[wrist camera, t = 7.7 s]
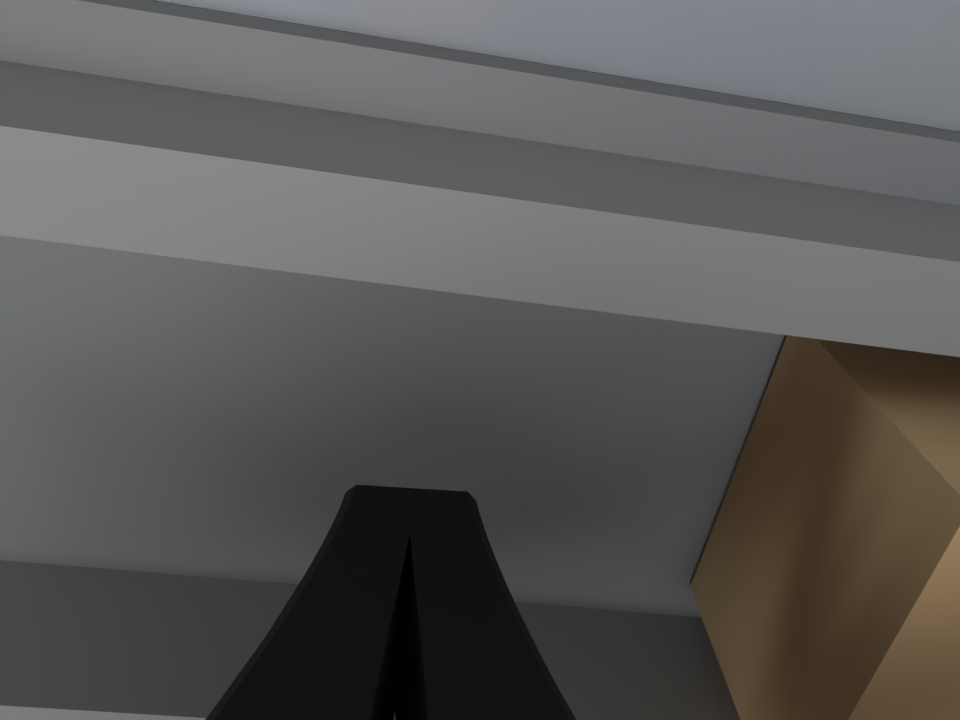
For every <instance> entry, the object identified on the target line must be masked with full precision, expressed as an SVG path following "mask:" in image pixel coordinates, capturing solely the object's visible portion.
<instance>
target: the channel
mask: <svg viewBox="0 0 960 720" xmlns="http://www.w3.org/2000/svg"><path fill="white" fill-rule="evenodd" d="M787 335H790V336H798V337H805V338H813V339H821V340H829V341H837V342H845V343H853V344H861V345H868V346H876V347H884V348H892V349H900V350H908V351H916V352H923V353H931V354H939V355H947V356H955V357H960V132H956V131H950V130H944V129H938V128H932V127H926V126H920V125H914V124H907V123H901V122H895V121H889V120H883V119H877V118H871V117H865V116H858V115H852V114H846V113H840V112H834V111H828V110H822V109H816V108H809V107H803V106H797V105H791V104H785V103H779V102H773V101H767V100H760V99H754V98H748V97H742V96H736V95H730V94H724V93H718V92H711V91H705V90H699V89H693V88H687V87H681V86H675V85H668V84H662V83H656V82H650V81H644V80H638V79H632V78H626V77H619V76H613V75H607V74H601V73H595V72H589V71H583V70H577V69H570V68H564V67H558V66H552V65H546V64H540V63H534V62H528V61H521V60H515V59H509V58H503V57H497V56H491V55H485V54H479V53H472V52H466V51H460V50H454V49H448V48H442V47H436V46H430V45H423V44H417V43H411V42H405V41H399V40H393V39H387V38H381V37H374V36H368V35H362V34H356V33H350V32H344V31H338V30H332V29H325V28H319V27H313V26H307V25H301V24H295V23H289V22H282V21H276V20H270V19H264V18H258V17H252V16H246V15H240V14H233V13H227V12H221V11H215V10H209V9H203V8H197V7H191V6H184V5H178V4H172V3H166V2H160V1H154V0H0V720H205V719H206V718H207V717H208V715H209V714H210V713H211V711H212V710H213V709H214V707H215V706H216V704H217V703H218V702H219V700H220V699H221V698H222V696H223V695H224V693H225V692H226V691H227V689H228V688H229V686H230V685H231V684H232V682H233V681H234V680H235V678H236V677H237V675H238V674H239V673H240V671H241V670H242V669H243V667H244V666H245V664H246V663H247V662H248V660H249V659H250V657H251V656H252V655H253V653H254V652H255V651H256V649H257V648H258V646H259V645H260V644H261V642H262V641H263V639H264V638H265V636H266V635H267V633H268V632H269V630H270V629H271V627H272V626H273V624H274V622H275V621H276V619H277V618H278V616H279V615H280V613H281V611H282V610H283V608H284V607H285V605H286V604H287V602H288V600H289V599H290V597H291V596H292V594H293V592H294V591H295V589H296V588H297V586H298V585H299V583H300V581H301V580H302V578H303V577H304V575H305V573H306V572H307V570H308V568H309V566H310V565H311V563H312V561H313V559H314V557H315V556H316V554H317V552H318V550H319V549H320V547H321V545H322V543H323V541H324V539H325V537H326V536H327V534H328V532H329V530H330V528H331V526H332V524H333V521H334V519H335V517H336V515H337V513H338V511H339V508H340V506H341V503H342V501H343V498H344V495H345V492H347V491H348V490H350V489H351V488H352V487H354V486H355V485H371V486H387V487H403V488H419V489H435V490H451V491H467V492H469V493H470V494H471V495H472V497H473V498H474V499H475V500H476V501H477V505H478V509H479V513H480V516H481V519H482V522H483V525H484V528H485V531H486V534H487V537H488V540H489V542H490V545H491V548H492V550H493V553H494V555H495V558H496V560H497V563H498V565H499V567H500V570H501V572H502V575H503V577H504V579H505V582H506V584H507V586H508V589H509V591H510V593H511V595H512V597H513V599H514V602H515V604H516V606H517V608H518V610H519V612H520V614H521V616H522V618H523V620H524V622H525V624H526V626H527V628H528V630H529V632H530V634H531V636H532V638H533V640H534V642H535V644H536V646H537V648H538V650H539V652H540V654H541V657H542V658H543V660H544V662H545V664H546V666H547V668H548V670H549V672H550V673H551V675H552V677H553V679H554V681H555V683H556V685H557V686H558V688H559V690H560V692H561V694H562V695H563V697H564V699H565V700H566V702H567V704H568V706H569V707H570V709H571V711H572V713H573V714H574V716H575V718H576V720H740V717H739V715H738V712H737V709H736V707H735V704H734V702H733V699H732V696H731V694H730V691H729V688H728V686H727V683H726V681H725V678H724V675H723V673H722V670H721V667H720V665H719V662H718V660H717V657H716V654H715V652H714V649H713V646H712V644H711V641H710V639H709V636H708V633H707V631H706V628H705V625H704V623H703V620H702V618H701V615H700V612H699V610H698V607H697V604H696V602H695V599H694V597H693V594H692V591H691V589H690V587H691V584H692V581H693V579H694V576H695V574H696V571H697V568H698V566H699V563H700V561H701V558H702V555H703V553H704V550H705V548H706V545H707V542H708V540H709V537H710V535H711V532H712V529H713V527H714V524H715V522H716V519H717V517H718V514H719V511H720V509H721V506H722V504H723V501H724V498H725V496H726V493H727V491H728V488H729V485H730V483H731V480H732V478H733V475H734V472H735V470H736V467H737V465H738V462H739V459H740V457H741V454H742V452H743V449H744V447H745V444H746V441H747V439H748V436H749V434H750V431H751V428H752V426H753V423H754V421H755V418H756V415H757V413H758V410H759V408H760V405H761V402H762V400H763V397H764V395H765V392H766V389H767V387H768V384H769V382H770V379H771V376H772V374H773V371H774V369H775V366H776V364H777V361H778V358H779V356H780V353H781V351H782V348H783V345H784V343H785V340H786V338H787ZM394 720H395V714H394Z"/></svg>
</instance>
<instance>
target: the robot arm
mask: <svg viewBox="0 0 960 720" xmlns="http://www.w3.org/2000/svg"><path fill="white" fill-rule="evenodd" d="M394 714H395V720H576V718H575V716H574V714H573V713H572V711H571V709H570V707H569V706H568V704H567V702H566V700H565V699H564V697H563V695H562V694H561V692H560V690H559V688H558V686H557V685H556V683H555V681H554V679H553V677H552V675H551V673H550V672H549V670H548V668H547V666H546V664H545V662H544V660H543V658H542V657H541V654H540V652H539V650H538V648H537V646H536V644H535V642H534V640H533V638H532V636H531V634H530V632H529V630H528V628H527V626H526V624H525V622H524V620H523V618H522V616H521V614H520V612H519V610H518V608H517V606H516V604H515V602H514V599H513V597H512V595H511V593H510V591H509V589H508V586H507V584H506V582H505V579H504V577H503V575H502V572H501V570H500V567H499V565H498V563H497V560H496V558H495V555H494V553H493V550H492V548H491V545H490V542H489V540H488V537H487V534H486V531H485V528H484V525H483V522H482V519H481V516H480V513H479V509H478V505H477V501H476V500H475V499H474V498H473V497H472V495H471V494H470V493H469V492H467V491H451V490H435V489H419V488H403V487H387V486H371V485H355V486H354V487H352V488H351V489H350V490H348V491H347V492H345V495H344V498H343V501H342V503H341V506H340V508H339V511H338V513H337V515H336V517H335V519H334V521H333V524H332V526H331V528H330V530H329V532H328V534H327V536H326V537H325V539H324V541H323V543H322V545H321V547H320V549H319V550H318V552H317V554H316V556H315V557H314V559H313V561H312V563H311V565H310V566H309V568H308V570H307V572H306V573H305V575H304V577H303V578H302V580H301V581H300V583H299V585H298V586H297V588H296V589H295V591H294V592H293V594H292V596H291V597H290V599H289V600H288V602H287V604H286V605H285V607H284V608H283V610H282V611H281V613H280V615H279V616H278V618H277V619H276V621H275V622H274V624H273V626H272V627H271V629H270V630H269V632H268V633H267V635H266V636H265V638H264V639H263V641H262V642H261V644H260V645H259V646H258V648H257V649H256V651H255V652H254V653H253V655H252V656H251V657H250V659H249V660H248V662H247V663H246V664H245V666H244V667H243V669H242V670H241V671H240V673H239V674H238V675H237V677H236V678H235V680H234V681H233V682H232V684H231V685H230V686H229V688H228V689H227V691H226V692H225V693H224V695H223V696H222V698H221V699H220V700H219V702H218V703H217V704H216V706H215V707H214V709H213V710H212V711H211V713H210V714H209V715H208V717H207V718H206V719H205V720H394Z"/></svg>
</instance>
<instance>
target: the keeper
mask: <svg viewBox="0 0 960 720" xmlns="http://www.w3.org/2000/svg"><path fill="white" fill-rule="evenodd" d="M690 589H691V591H692V594H693V597H694V599H695V602H696V604H697V607H698V610H699V612H700V615H701V618H702V620H703V623H704V625H705V628H706V631H707V633H708V636H709V639H710V641H711V644H712V646H713V649H714V652H715V654H716V657H717V660H718V662H719V665H720V667H721V670H722V673H723V675H724V678H725V681H726V683H727V686H728V688H729V691H730V694H731V696H732V699H733V702H734V704H735V707H736V709H737V712H738V715H739V717H740V720H960V357H955V356H947V355H939V354H931V353H923V352H916V351H908V350H900V349H892V348H884V347H876V346H868V345H861V344H853V343H845V342H837V341H829V340H821V339H813V338H805V337H798V336H790V335H787V338H786V340H785V343H784V345H783V348H782V351H781V353H780V356H779V358H778V361H777V364H776V366H775V369H774V371H773V374H772V376H771V379H770V382H769V384H768V387H767V389H766V392H765V395H764V397H763V400H762V402H761V405H760V408H759V410H758V413H757V415H756V418H755V421H754V423H753V426H752V428H751V431H750V434H749V436H748V439H747V441H746V444H745V447H744V449H743V452H742V454H741V457H740V459H739V462H738V465H737V467H736V470H735V472H734V475H733V478H732V480H731V483H730V485H729V488H728V491H727V493H726V496H725V498H724V501H723V504H722V506H721V509H720V511H719V514H718V517H717V519H716V522H715V524H714V527H713V529H712V532H711V535H710V537H709V540H708V542H707V545H706V548H705V550H704V553H703V555H702V558H701V561H700V563H699V566H698V568H697V571H696V574H695V576H694V579H693V581H692V584H691V587H690Z"/></svg>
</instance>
